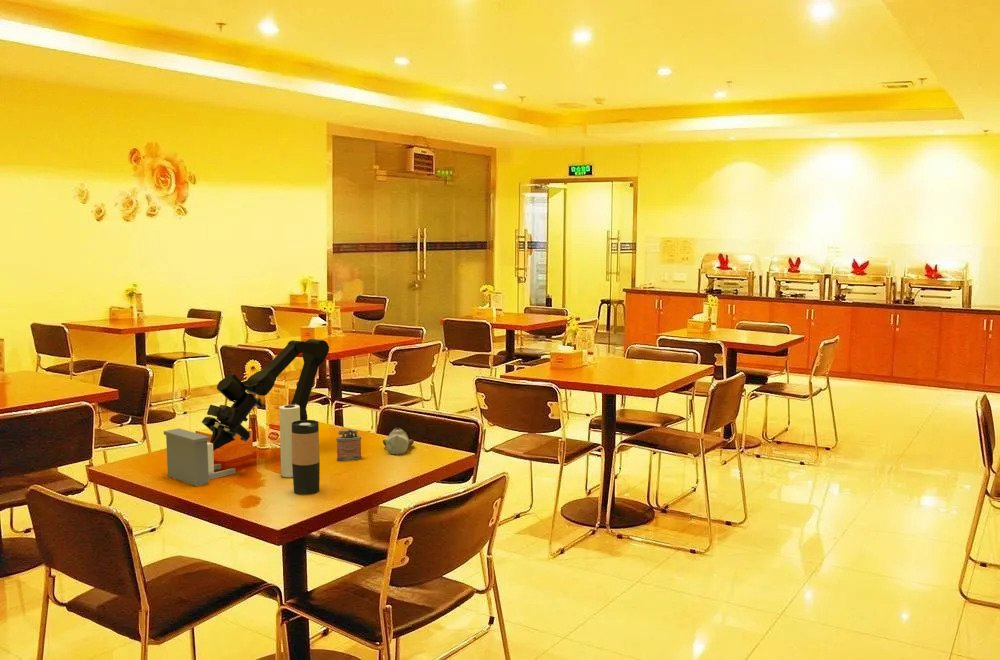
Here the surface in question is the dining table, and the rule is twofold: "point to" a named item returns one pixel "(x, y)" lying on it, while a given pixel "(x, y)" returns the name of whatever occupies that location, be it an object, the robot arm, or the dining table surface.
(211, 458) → the cream rectangular block
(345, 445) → the lighter
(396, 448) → the ceramic sculpture
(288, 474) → the paper towel roll
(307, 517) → the dining table surface
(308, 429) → the travel mug
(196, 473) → the grey boxy piece
